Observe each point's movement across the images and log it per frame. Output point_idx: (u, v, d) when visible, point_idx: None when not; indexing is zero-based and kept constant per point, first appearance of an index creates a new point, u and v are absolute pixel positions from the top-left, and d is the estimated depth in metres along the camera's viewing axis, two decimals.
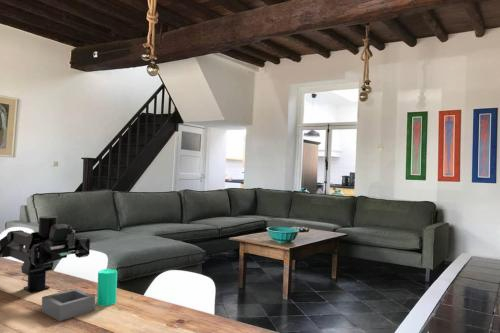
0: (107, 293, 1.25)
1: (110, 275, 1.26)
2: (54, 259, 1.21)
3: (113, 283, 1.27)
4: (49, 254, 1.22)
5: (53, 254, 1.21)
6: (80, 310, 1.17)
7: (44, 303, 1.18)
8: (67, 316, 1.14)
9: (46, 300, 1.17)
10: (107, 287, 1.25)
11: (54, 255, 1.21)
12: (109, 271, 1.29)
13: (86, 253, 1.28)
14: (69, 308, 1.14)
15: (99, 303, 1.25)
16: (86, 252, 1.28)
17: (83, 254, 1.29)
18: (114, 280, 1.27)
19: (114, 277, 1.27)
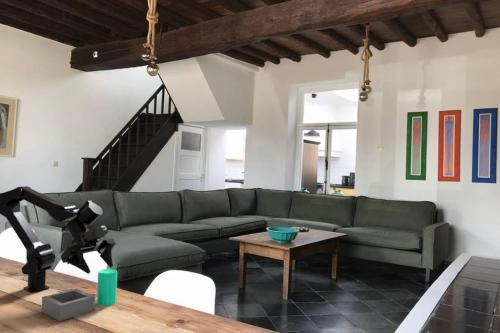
0: (107, 293, 1.25)
1: (110, 275, 1.26)
2: (82, 269, 1.26)
3: (113, 283, 1.27)
4: (80, 261, 1.26)
5: (84, 265, 1.26)
6: (80, 310, 1.17)
7: (44, 303, 1.18)
8: (67, 316, 1.14)
9: (46, 300, 1.17)
10: (107, 287, 1.25)
11: (84, 267, 1.26)
12: (109, 272, 1.29)
13: (109, 265, 1.34)
14: (69, 308, 1.14)
15: (99, 303, 1.25)
16: (110, 265, 1.34)
17: (106, 261, 1.35)
18: (114, 280, 1.27)
19: (114, 277, 1.27)
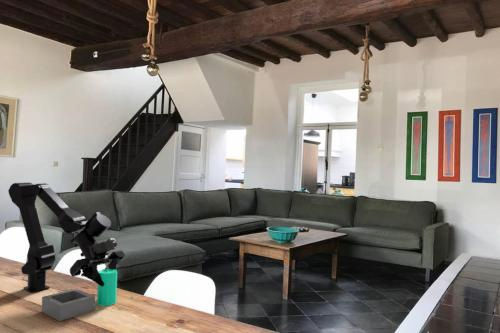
0: (107, 293, 1.25)
1: (110, 275, 1.26)
2: (96, 282, 1.25)
3: (113, 283, 1.27)
4: (94, 273, 1.25)
5: (98, 278, 1.25)
6: (80, 310, 1.17)
7: (44, 303, 1.18)
8: (67, 316, 1.14)
9: (46, 300, 1.17)
10: (107, 287, 1.25)
11: (98, 279, 1.25)
12: (109, 271, 1.29)
13: None
14: (69, 308, 1.14)
15: (99, 303, 1.25)
16: None
17: None
18: (114, 280, 1.27)
19: (114, 277, 1.27)
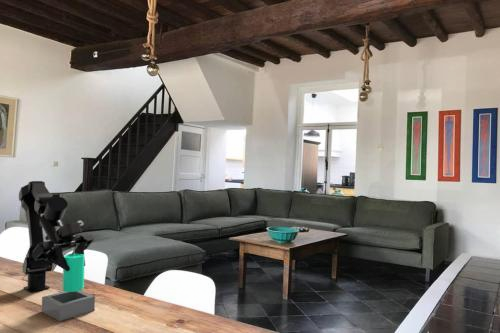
0: (73, 279, 1.18)
1: (76, 260, 1.18)
2: (61, 266, 1.18)
3: (80, 268, 1.19)
4: (58, 257, 1.18)
5: (62, 262, 1.17)
6: (80, 310, 1.17)
7: (44, 303, 1.18)
8: (67, 316, 1.14)
9: (46, 300, 1.17)
10: (73, 272, 1.18)
11: (63, 264, 1.17)
12: (76, 256, 1.21)
13: None
14: (69, 308, 1.14)
15: (65, 289, 1.18)
16: None
17: None
18: (81, 265, 1.20)
19: (80, 262, 1.19)
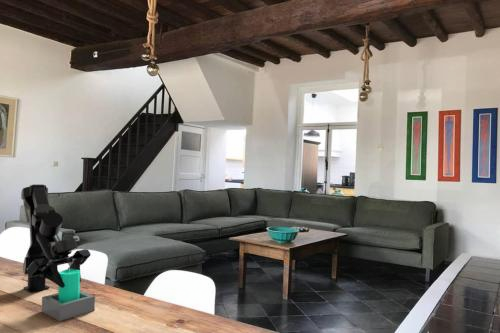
0: (68, 295, 1.17)
1: (71, 276, 1.17)
2: (56, 283, 1.17)
3: (75, 284, 1.18)
4: (53, 274, 1.17)
5: (57, 279, 1.16)
6: (80, 310, 1.17)
7: (44, 303, 1.18)
8: (67, 316, 1.14)
9: (46, 300, 1.17)
10: (69, 289, 1.17)
11: (58, 280, 1.17)
12: (71, 272, 1.20)
13: None
14: (69, 308, 1.14)
15: None
16: None
17: None
18: (76, 281, 1.19)
19: (76, 278, 1.19)
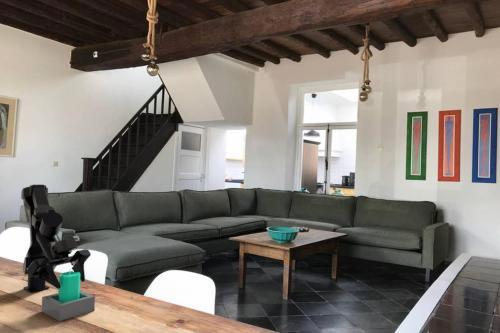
0: (68, 298, 1.17)
1: (71, 278, 1.18)
2: (52, 284, 1.16)
3: (75, 287, 1.19)
4: (49, 275, 1.16)
5: (53, 280, 1.15)
6: (80, 310, 1.17)
7: (44, 303, 1.18)
8: (67, 316, 1.14)
9: (46, 300, 1.17)
10: (68, 291, 1.17)
11: (54, 281, 1.15)
12: (72, 274, 1.21)
13: (81, 279, 1.23)
14: (69, 308, 1.14)
15: None
16: (82, 279, 1.23)
17: None
18: (76, 283, 1.19)
19: (76, 281, 1.19)
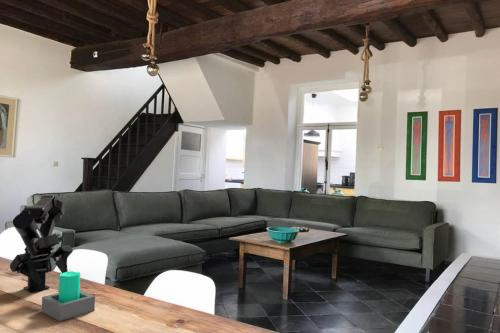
0: (68, 298, 1.17)
1: (71, 278, 1.18)
2: (33, 279, 1.20)
3: (75, 287, 1.19)
4: (30, 270, 1.20)
5: (34, 275, 1.19)
6: (80, 310, 1.17)
7: (44, 303, 1.18)
8: (67, 316, 1.14)
9: (46, 300, 1.17)
10: (69, 291, 1.17)
11: (34, 276, 1.19)
12: (72, 274, 1.21)
13: None
14: (69, 308, 1.14)
15: None
16: None
17: (61, 270, 1.29)
18: (76, 283, 1.19)
19: (76, 281, 1.19)
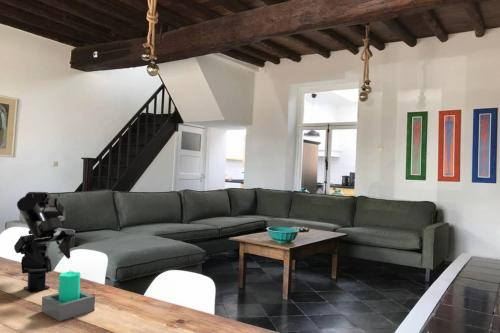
0: (68, 298, 1.17)
1: (71, 278, 1.18)
2: (36, 260, 1.23)
3: (75, 287, 1.19)
4: (34, 251, 1.23)
5: (37, 256, 1.23)
6: (80, 310, 1.17)
7: (44, 303, 1.18)
8: (67, 316, 1.14)
9: (46, 300, 1.17)
10: (69, 291, 1.17)
11: (38, 257, 1.23)
12: (72, 274, 1.21)
13: (67, 256, 1.31)
14: (69, 308, 1.14)
15: None
16: (67, 256, 1.31)
17: (63, 252, 1.32)
18: (76, 283, 1.19)
19: (76, 281, 1.19)
